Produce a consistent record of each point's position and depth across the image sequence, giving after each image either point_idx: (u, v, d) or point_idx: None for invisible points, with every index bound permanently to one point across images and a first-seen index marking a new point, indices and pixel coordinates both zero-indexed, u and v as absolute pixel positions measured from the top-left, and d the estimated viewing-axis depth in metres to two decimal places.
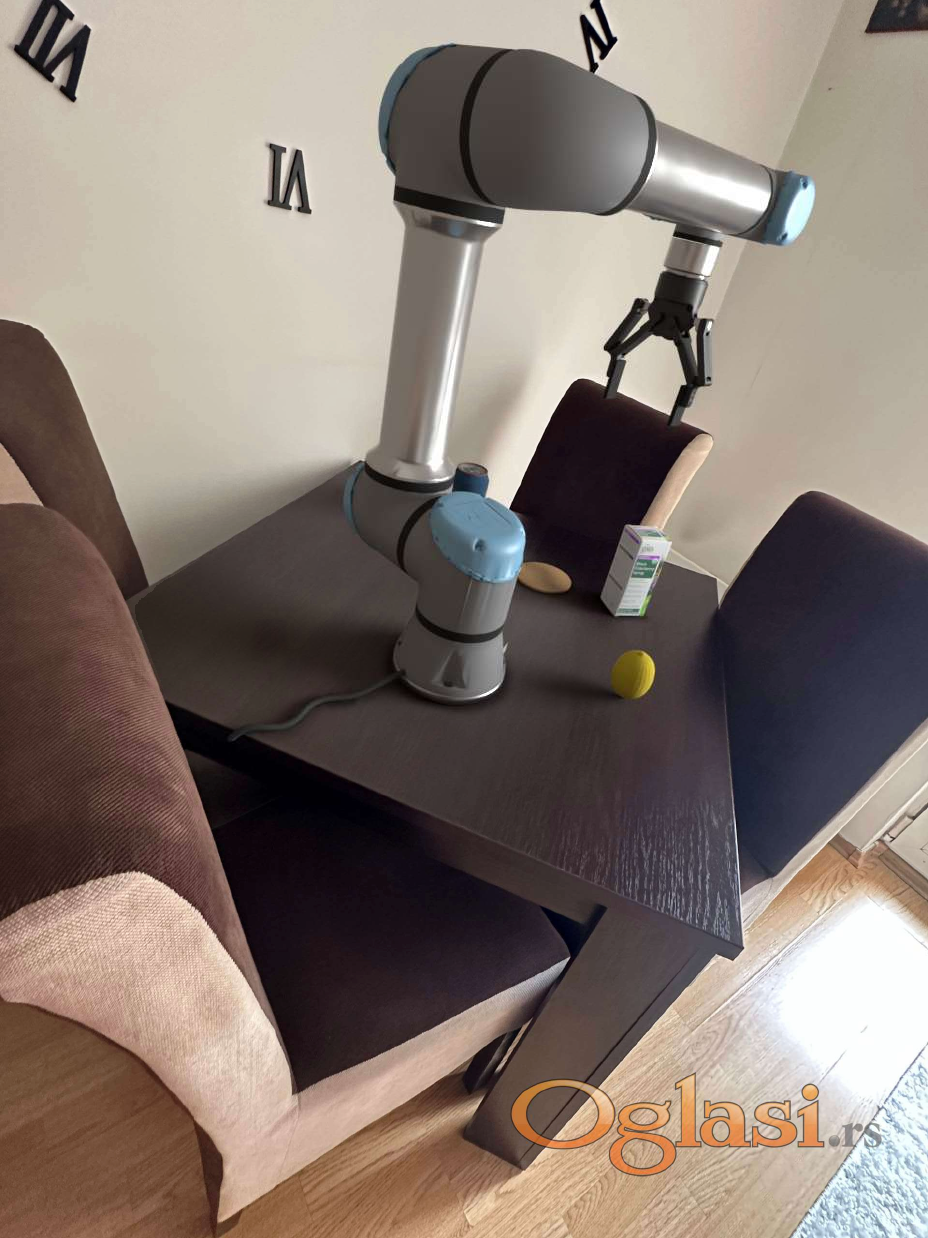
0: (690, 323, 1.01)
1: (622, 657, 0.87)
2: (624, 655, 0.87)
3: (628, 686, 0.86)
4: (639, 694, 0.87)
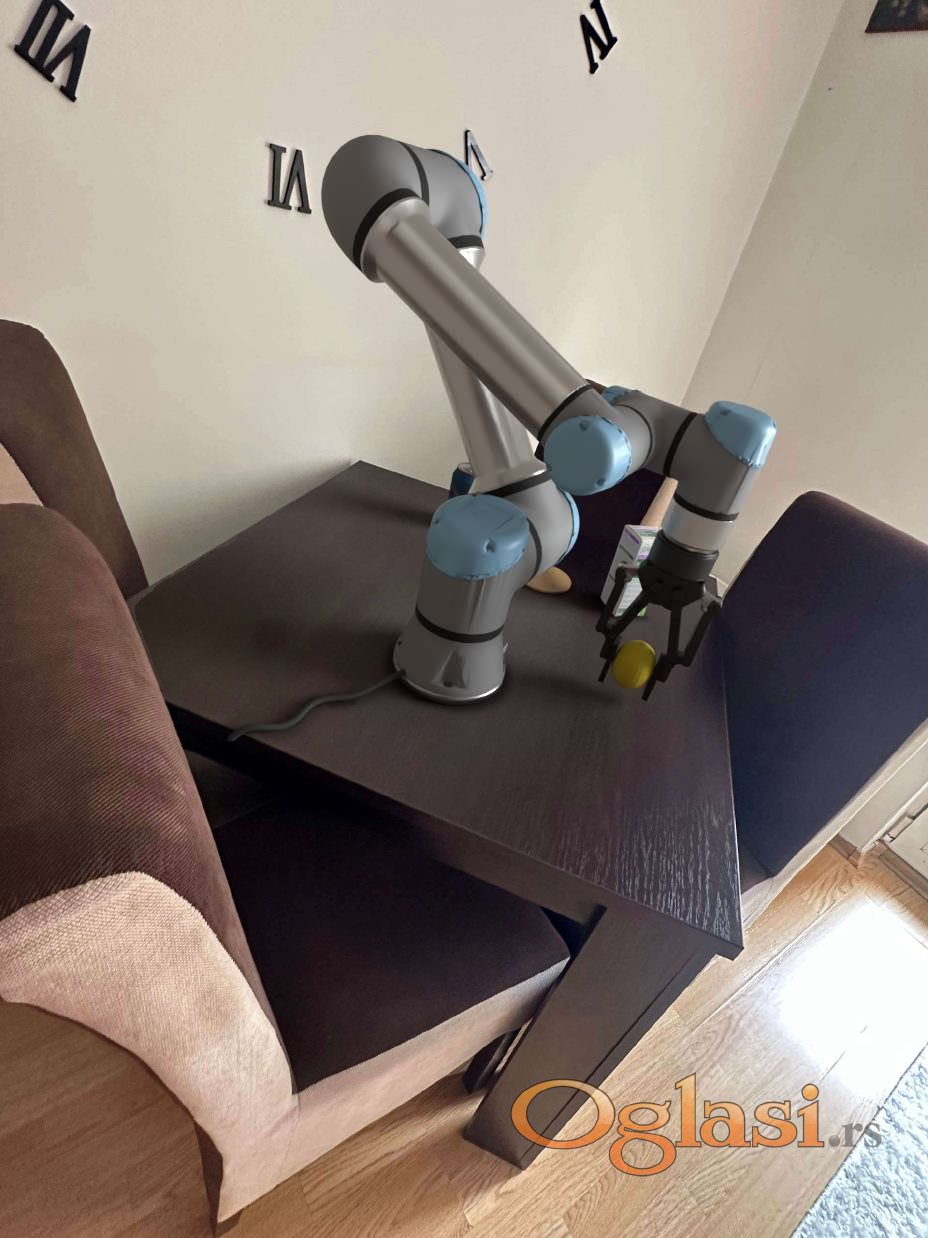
0: None
1: (623, 647, 0.86)
2: (625, 645, 0.86)
3: (628, 676, 0.86)
4: (639, 684, 0.86)
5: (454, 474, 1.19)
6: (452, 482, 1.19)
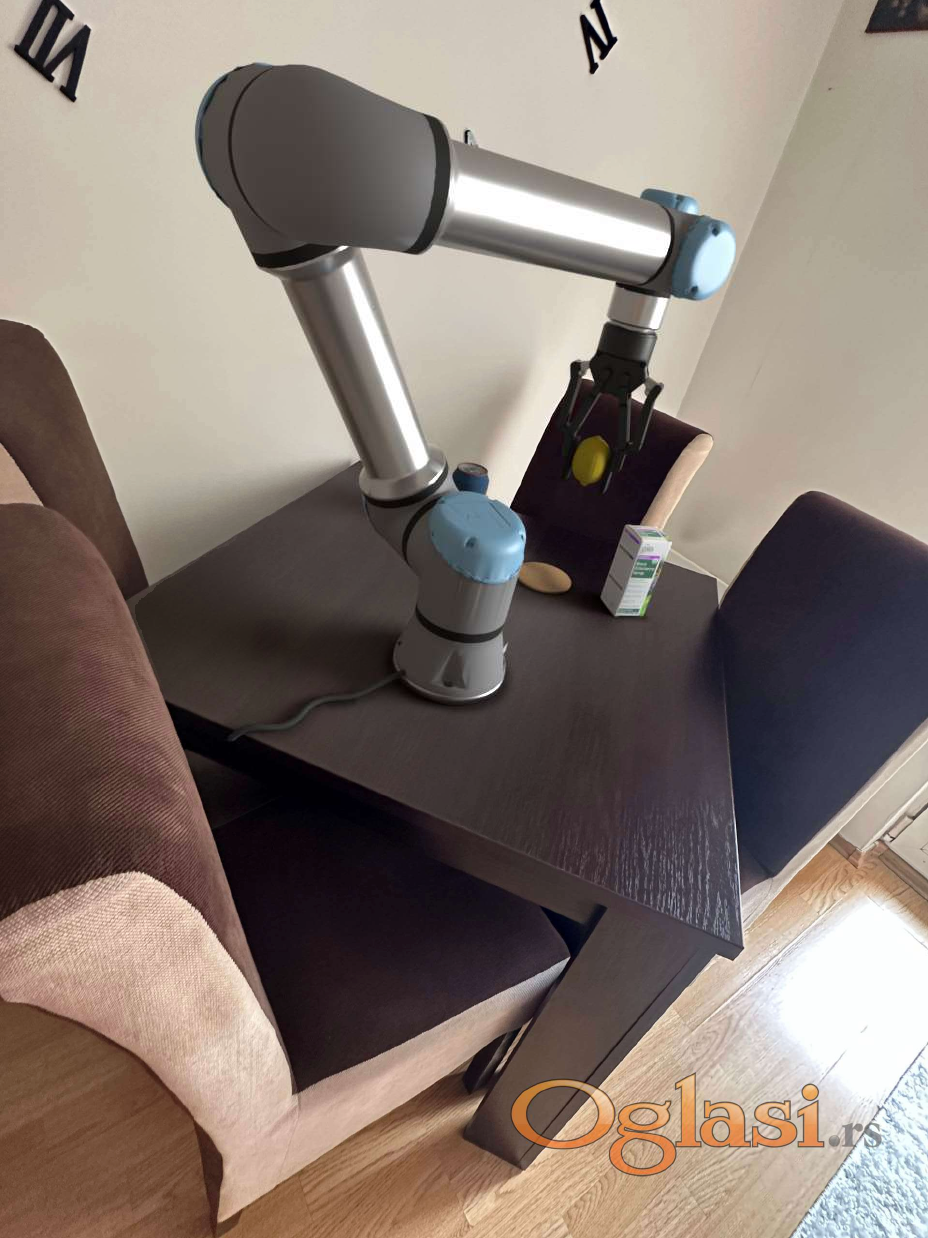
0: (642, 383, 0.91)
1: (581, 442, 0.98)
2: (583, 441, 0.98)
3: (585, 466, 0.97)
4: (595, 475, 0.98)
5: (454, 474, 1.19)
6: None
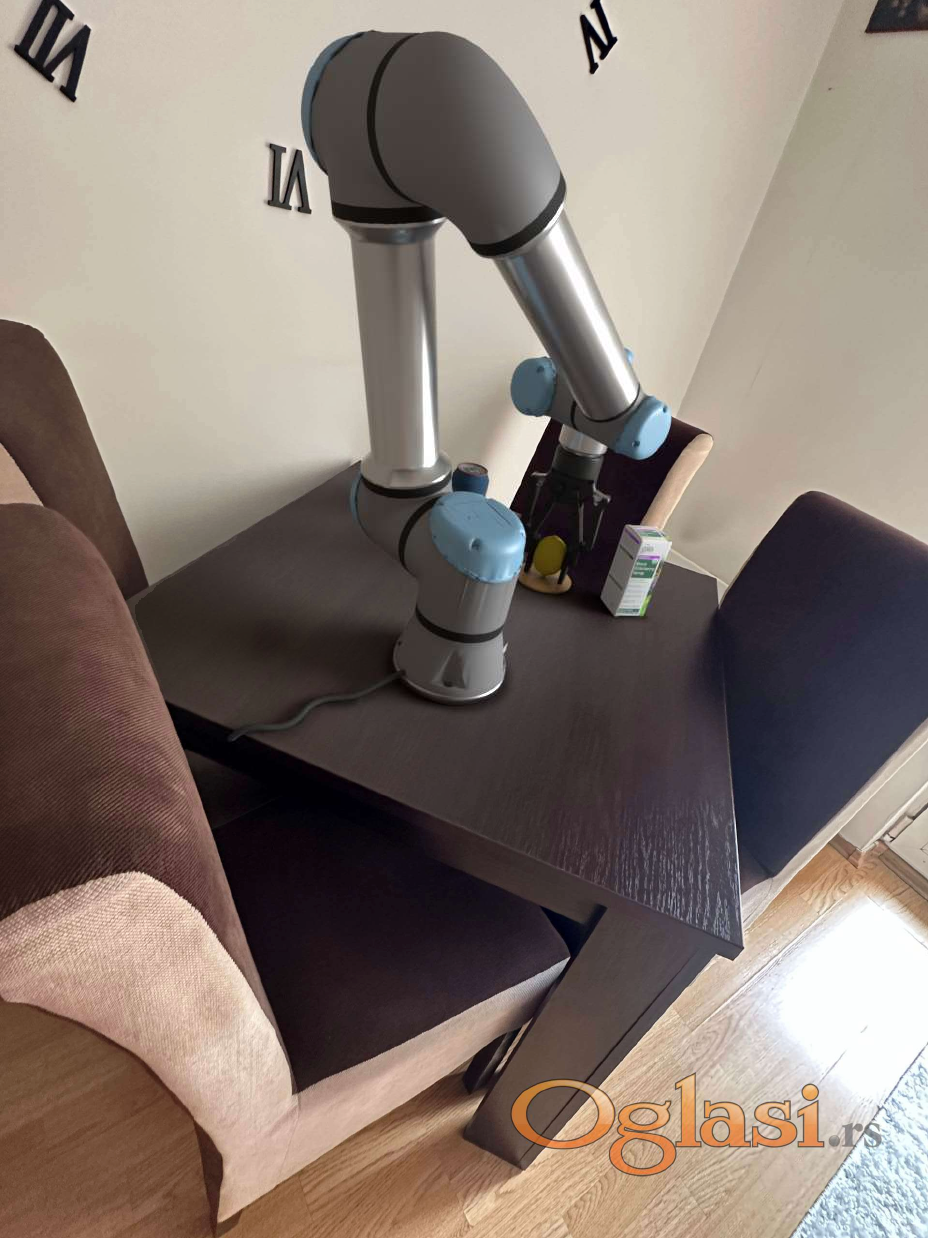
0: (591, 496, 1.04)
1: (540, 541, 1.11)
2: (542, 539, 1.11)
3: (544, 562, 1.10)
4: (553, 570, 1.11)
5: (454, 474, 1.19)
6: (452, 482, 1.19)
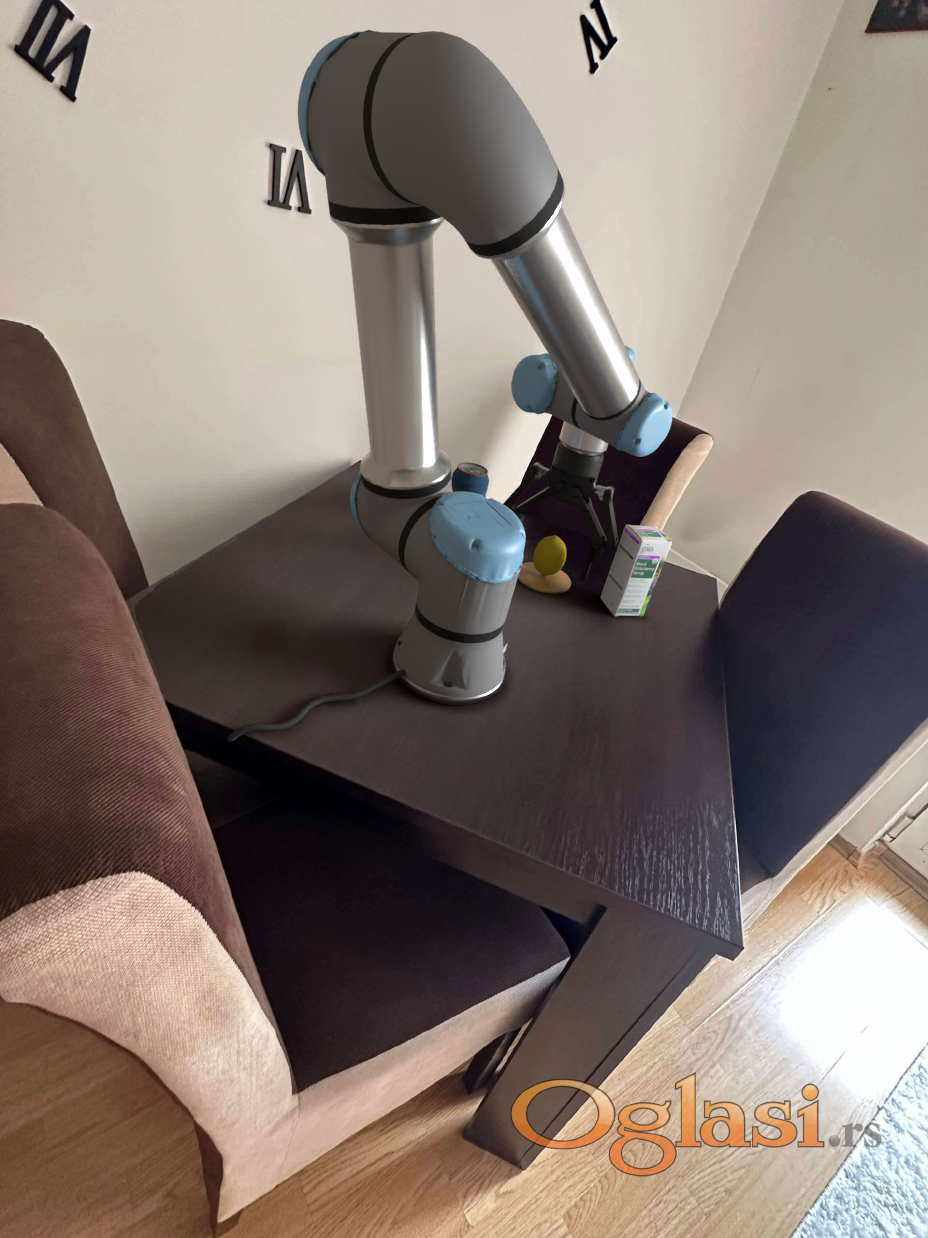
0: (593, 492, 1.03)
1: (540, 541, 1.11)
2: (542, 539, 1.11)
3: (544, 562, 1.10)
4: (553, 570, 1.11)
5: (454, 474, 1.19)
6: (452, 482, 1.19)
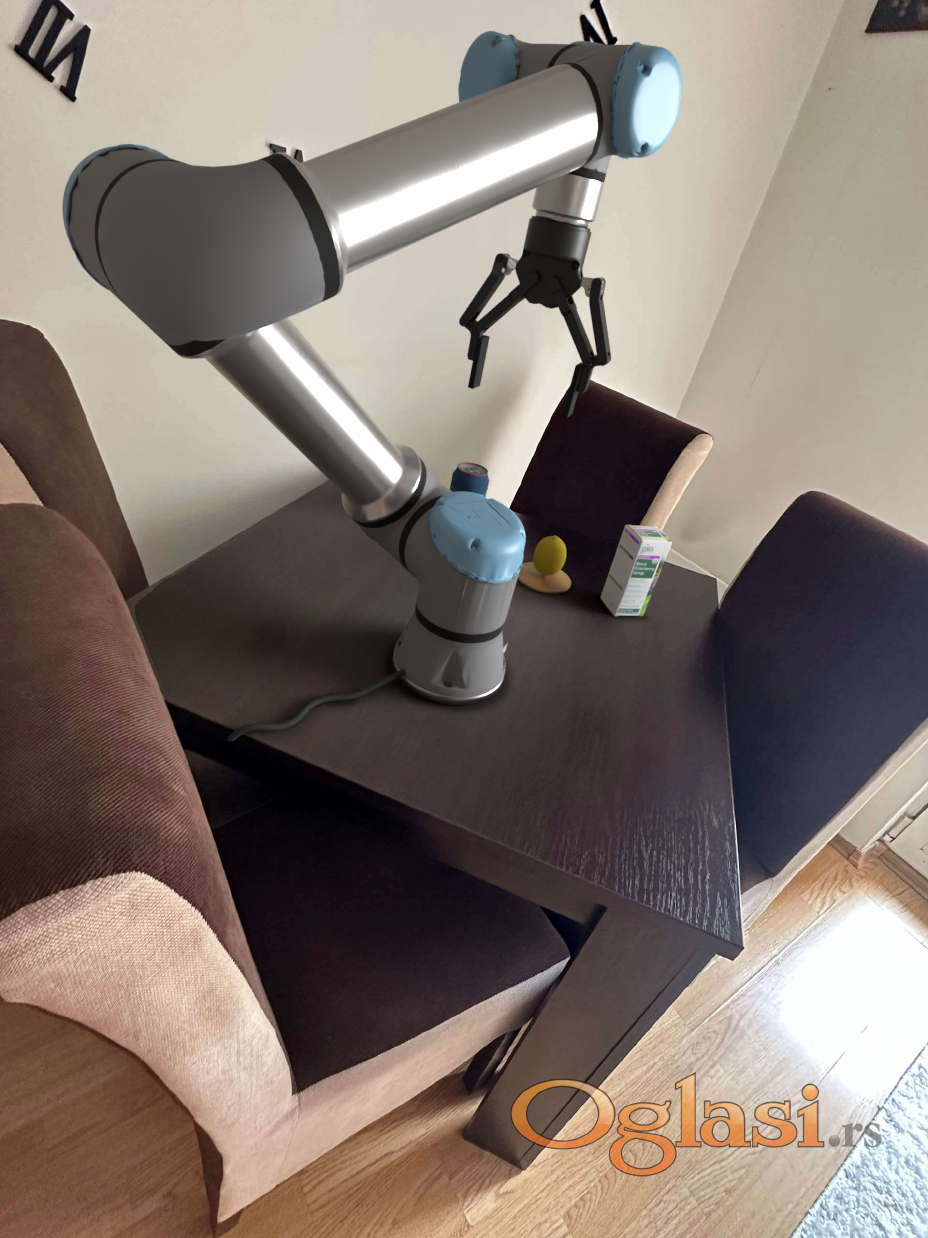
0: (578, 285, 0.78)
1: (540, 541, 1.11)
2: (542, 539, 1.11)
3: (544, 562, 1.10)
4: (553, 570, 1.11)
5: (454, 474, 1.19)
6: (452, 482, 1.19)
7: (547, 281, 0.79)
